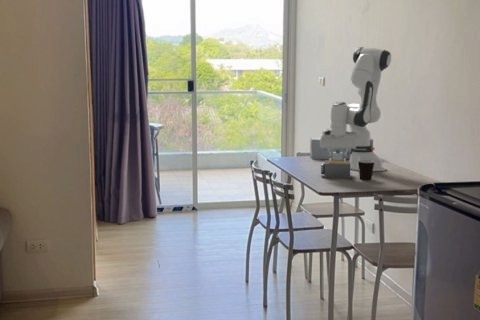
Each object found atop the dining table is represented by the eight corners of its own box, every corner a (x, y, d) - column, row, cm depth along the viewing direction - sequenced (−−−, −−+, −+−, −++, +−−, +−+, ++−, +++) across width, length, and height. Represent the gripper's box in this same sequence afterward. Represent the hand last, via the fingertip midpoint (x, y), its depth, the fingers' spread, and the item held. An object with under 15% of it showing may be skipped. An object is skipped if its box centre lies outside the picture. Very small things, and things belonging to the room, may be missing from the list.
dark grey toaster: (349, 174, 333) (349, 158, 331) (350, 178, 322) (350, 161, 320) (320, 173, 335) (321, 157, 333) (320, 177, 324) (321, 160, 323)
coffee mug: (370, 181, 314) (371, 163, 312) (355, 179, 319) (355, 161, 317) (377, 178, 324) (378, 160, 322) (362, 176, 328) (363, 158, 327)
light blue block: (341, 161, 329) (342, 149, 328) (342, 163, 324) (342, 150, 323) (332, 161, 330) (333, 149, 328) (333, 163, 325) (333, 150, 324)
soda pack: (369, 156, 395) (370, 136, 392) (373, 160, 382) (374, 139, 380) (309, 156, 397) (310, 136, 394) (310, 159, 384) (311, 138, 382)
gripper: (357, 131, 326) (356, 155, 328) (320, 130, 328) (319, 154, 331) (357, 132, 319) (356, 157, 322) (320, 131, 322) (319, 156, 325)
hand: (337, 156), depth 326 cm, fingers open, 7 cm apart
